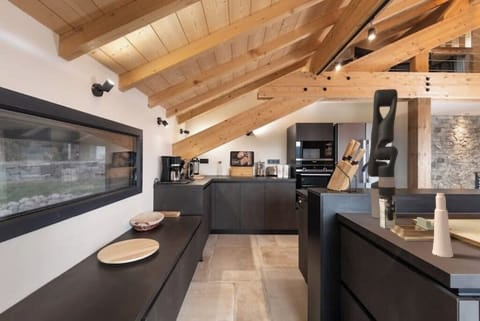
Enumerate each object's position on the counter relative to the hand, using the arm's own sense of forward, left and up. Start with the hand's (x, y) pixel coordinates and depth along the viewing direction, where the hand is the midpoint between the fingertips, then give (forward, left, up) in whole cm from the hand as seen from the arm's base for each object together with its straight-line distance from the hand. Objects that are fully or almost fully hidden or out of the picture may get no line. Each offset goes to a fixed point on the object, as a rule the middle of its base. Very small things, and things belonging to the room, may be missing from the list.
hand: (388, 218), depth 132 cm
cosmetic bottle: (+38, +4, -5) cm, 39 cm away
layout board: (+14, +7, -4) cm, 16 cm away
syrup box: (0, 0, -5) cm, 5 cm away
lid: (+14, +13, -1) cm, 20 cm away
